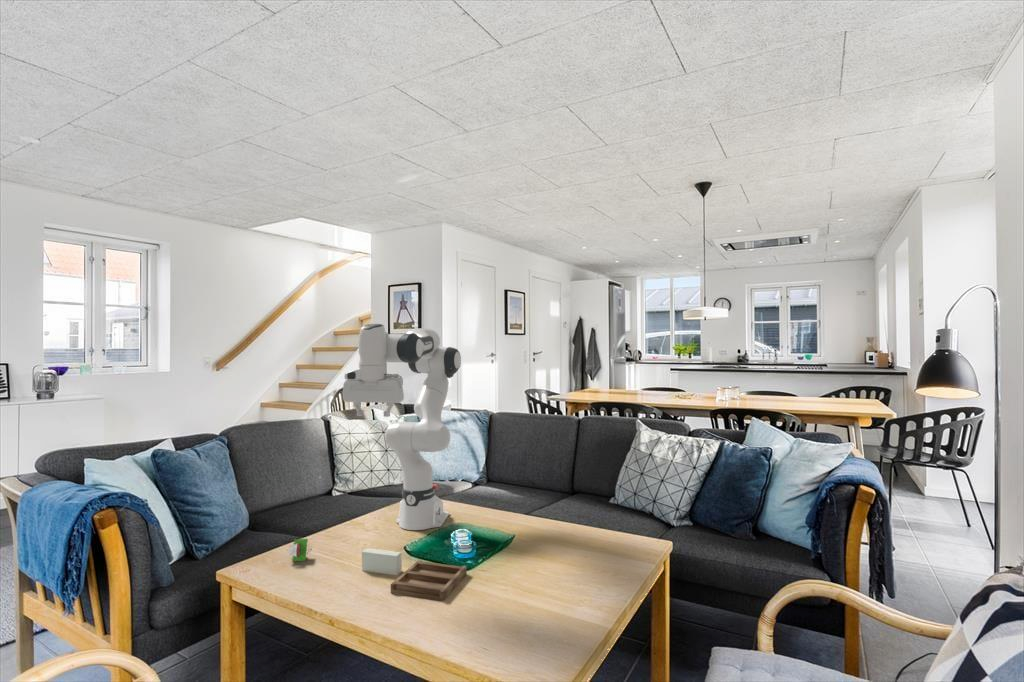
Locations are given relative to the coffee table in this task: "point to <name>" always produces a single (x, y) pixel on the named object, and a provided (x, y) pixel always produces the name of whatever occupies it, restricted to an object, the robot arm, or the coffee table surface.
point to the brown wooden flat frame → (429, 580)
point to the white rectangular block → (381, 561)
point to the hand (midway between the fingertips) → (373, 416)
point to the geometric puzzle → (299, 550)
